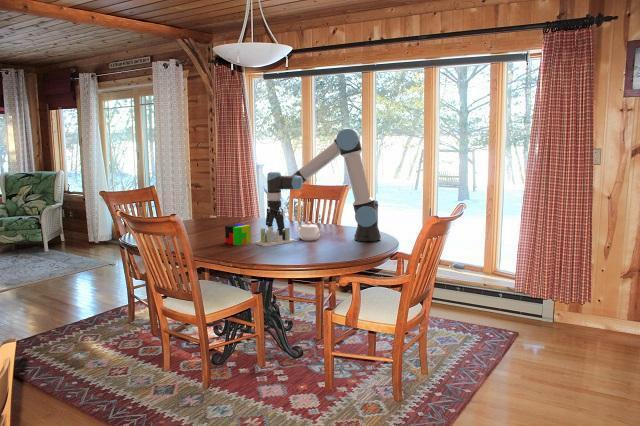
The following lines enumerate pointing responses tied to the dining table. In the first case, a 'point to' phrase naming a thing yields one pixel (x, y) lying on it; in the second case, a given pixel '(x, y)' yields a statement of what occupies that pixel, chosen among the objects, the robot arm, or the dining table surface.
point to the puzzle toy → (238, 234)
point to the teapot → (309, 231)
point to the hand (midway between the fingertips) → (275, 239)
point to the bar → (273, 236)
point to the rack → (269, 243)
